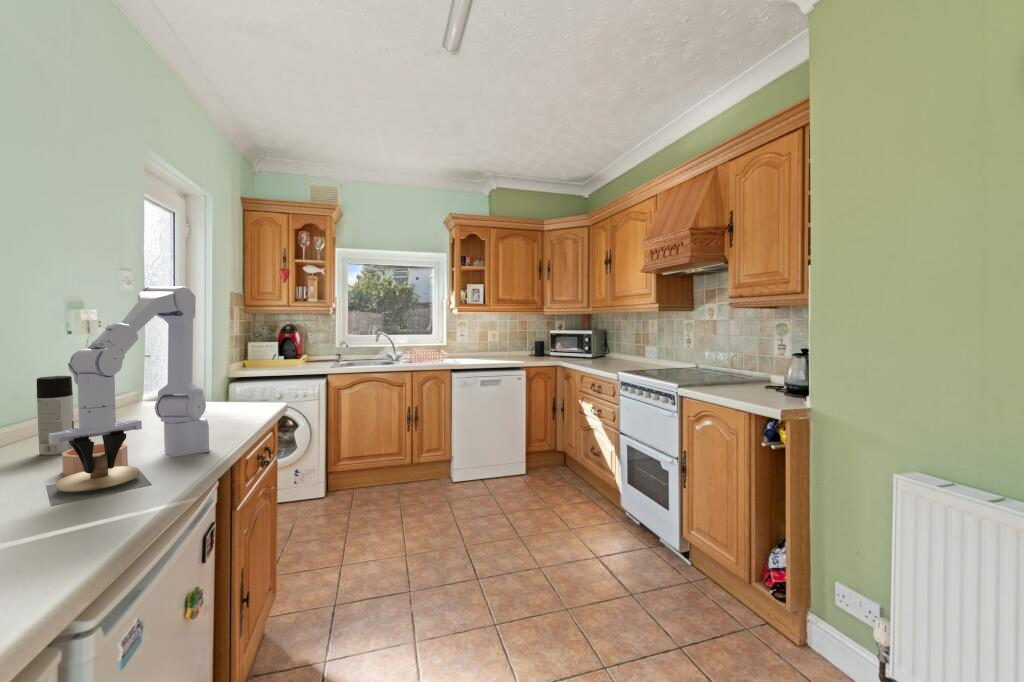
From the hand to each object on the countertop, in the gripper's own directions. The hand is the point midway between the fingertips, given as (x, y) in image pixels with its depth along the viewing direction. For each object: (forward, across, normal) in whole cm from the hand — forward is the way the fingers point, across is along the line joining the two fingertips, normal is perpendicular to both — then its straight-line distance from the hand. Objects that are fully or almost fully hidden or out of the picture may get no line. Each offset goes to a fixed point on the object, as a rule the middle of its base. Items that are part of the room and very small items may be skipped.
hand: (99, 470), depth 95 cm
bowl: (+4, -4, -14) cm, 15 cm away
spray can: (+4, -6, -41) cm, 41 cm away
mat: (+4, 0, 0) cm, 4 cm away
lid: (+2, 0, 0) cm, 2 cm away
